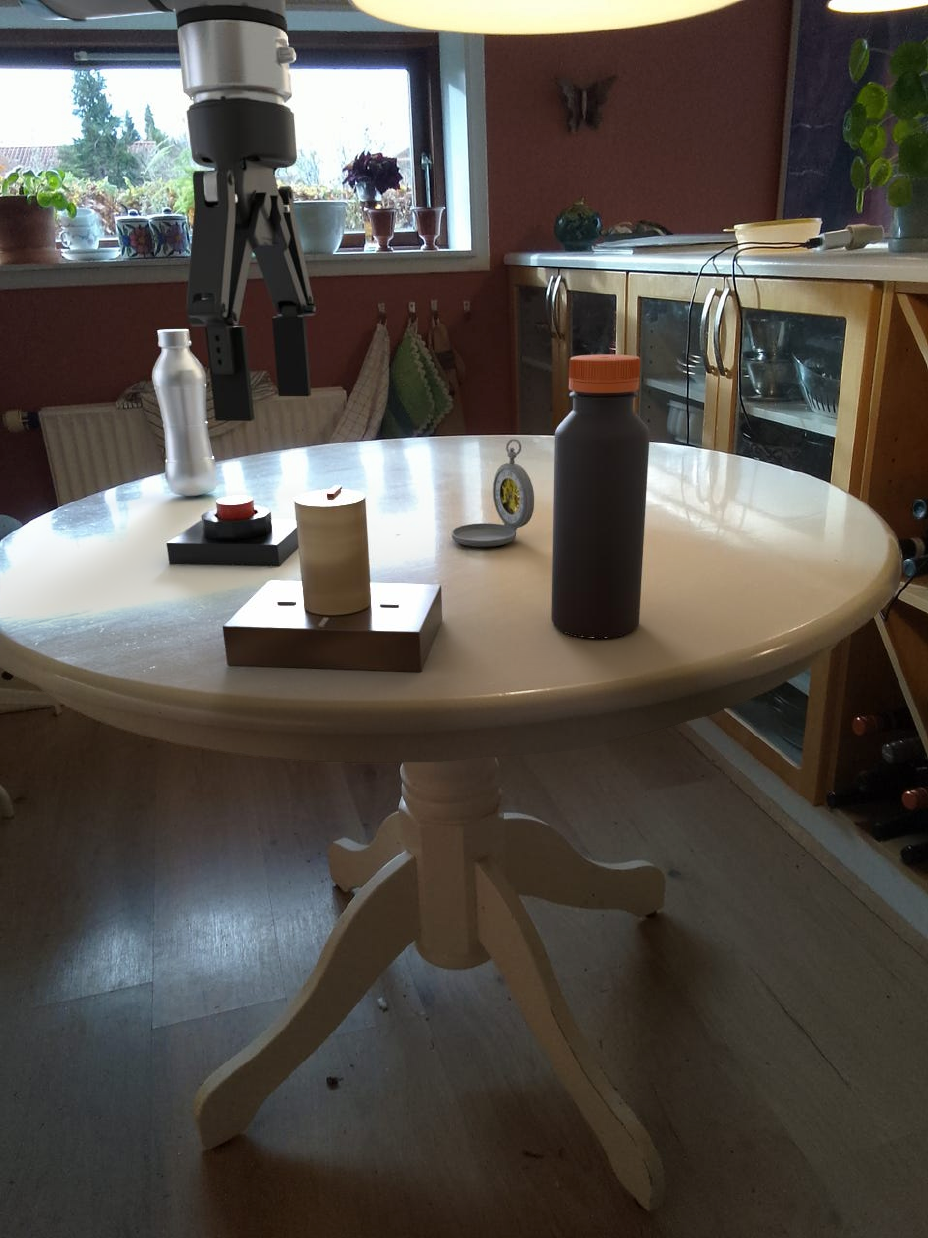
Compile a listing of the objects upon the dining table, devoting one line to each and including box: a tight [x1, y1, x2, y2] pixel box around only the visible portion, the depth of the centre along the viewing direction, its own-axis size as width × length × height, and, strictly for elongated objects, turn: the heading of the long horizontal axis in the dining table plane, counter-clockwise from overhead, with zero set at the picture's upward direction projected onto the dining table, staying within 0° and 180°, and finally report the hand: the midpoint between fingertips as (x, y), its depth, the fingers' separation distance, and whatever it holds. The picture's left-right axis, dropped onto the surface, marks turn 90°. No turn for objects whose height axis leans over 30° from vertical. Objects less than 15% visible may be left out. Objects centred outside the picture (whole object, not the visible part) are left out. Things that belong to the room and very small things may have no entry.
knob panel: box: [222, 580, 443, 673], centre depth 67 cm, size 14×10×3 cm
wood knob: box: [293, 485, 372, 615], centre depth 64 cm, size 5×5×8 cm
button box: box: [166, 505, 299, 568], centre depth 89 cm, size 11×9×4 cm
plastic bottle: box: [151, 328, 219, 497], centre depth 110 cm, size 6×7×20 cm
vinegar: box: [550, 353, 651, 639], centre depth 66 cm, size 7×7×20 cm
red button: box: [215, 495, 255, 519], centre depth 88 cm, size 4×4×2 cm
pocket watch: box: [451, 438, 535, 548], centre depth 90 cm, size 8×8×10 cm
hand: (267, 407), depth 71 cm, fingers open, 13 cm apart
